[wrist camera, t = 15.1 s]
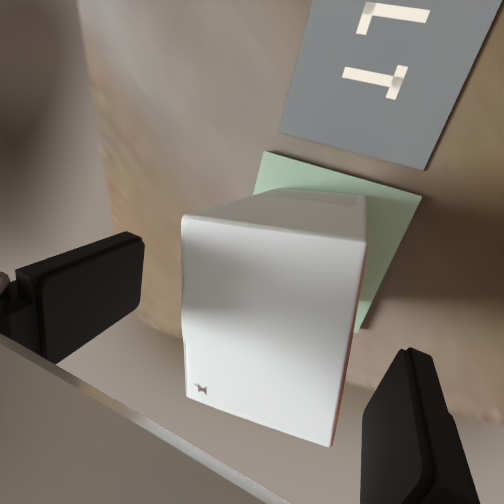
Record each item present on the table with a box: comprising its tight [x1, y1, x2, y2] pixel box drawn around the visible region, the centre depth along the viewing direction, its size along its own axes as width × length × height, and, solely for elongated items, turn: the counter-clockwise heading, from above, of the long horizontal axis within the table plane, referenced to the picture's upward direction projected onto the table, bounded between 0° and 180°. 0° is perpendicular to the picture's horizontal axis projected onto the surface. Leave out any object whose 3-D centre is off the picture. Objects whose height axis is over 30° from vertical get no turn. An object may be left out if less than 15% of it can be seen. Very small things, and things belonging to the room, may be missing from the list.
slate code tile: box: [278, 0, 502, 170], centre depth 18 cm, size 12×10×1 cm
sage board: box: [253, 151, 422, 333], centre depth 22 cm, size 11×11×1 cm
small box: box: [181, 188, 368, 447], centre depth 16 cm, size 8×6×13 cm
